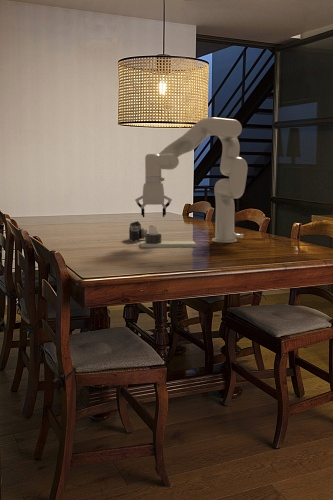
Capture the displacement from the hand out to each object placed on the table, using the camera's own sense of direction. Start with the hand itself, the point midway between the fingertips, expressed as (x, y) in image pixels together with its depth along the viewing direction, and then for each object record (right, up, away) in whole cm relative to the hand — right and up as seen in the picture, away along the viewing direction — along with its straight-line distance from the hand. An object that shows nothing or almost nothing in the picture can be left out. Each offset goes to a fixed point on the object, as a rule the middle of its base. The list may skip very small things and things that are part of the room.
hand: (153, 216), depth 271 cm
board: (+7, -14, +3) cm, 16 cm away
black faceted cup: (0, -12, +2) cm, 12 cm away
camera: (-8, -11, +20) cm, 25 cm away
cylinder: (0, -11, +2) cm, 11 cm away
